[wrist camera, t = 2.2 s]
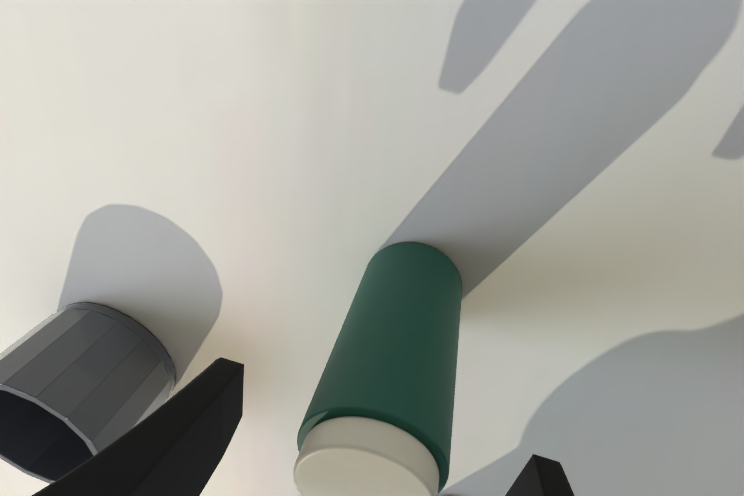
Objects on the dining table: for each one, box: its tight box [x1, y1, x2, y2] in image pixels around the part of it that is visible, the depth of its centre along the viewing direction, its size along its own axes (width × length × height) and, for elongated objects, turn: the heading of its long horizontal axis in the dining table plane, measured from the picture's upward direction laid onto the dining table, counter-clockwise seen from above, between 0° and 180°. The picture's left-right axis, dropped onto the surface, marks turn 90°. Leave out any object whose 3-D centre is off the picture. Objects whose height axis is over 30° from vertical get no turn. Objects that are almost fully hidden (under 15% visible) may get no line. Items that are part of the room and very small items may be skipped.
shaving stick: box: [294, 242, 462, 496], centre depth 13 cm, size 4×4×8 cm
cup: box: [0, 303, 175, 484], centre depth 20 cm, size 7×7×5 cm
